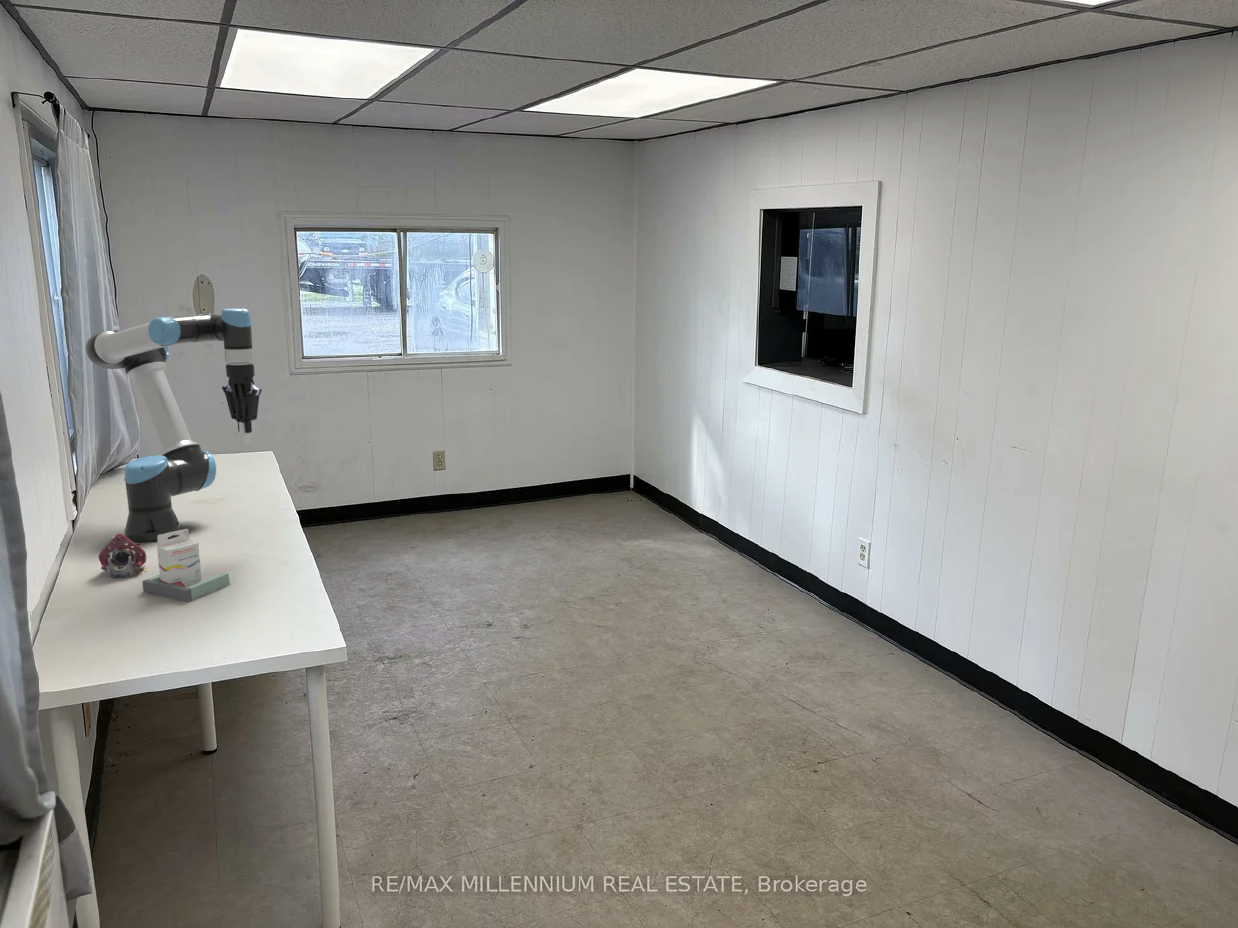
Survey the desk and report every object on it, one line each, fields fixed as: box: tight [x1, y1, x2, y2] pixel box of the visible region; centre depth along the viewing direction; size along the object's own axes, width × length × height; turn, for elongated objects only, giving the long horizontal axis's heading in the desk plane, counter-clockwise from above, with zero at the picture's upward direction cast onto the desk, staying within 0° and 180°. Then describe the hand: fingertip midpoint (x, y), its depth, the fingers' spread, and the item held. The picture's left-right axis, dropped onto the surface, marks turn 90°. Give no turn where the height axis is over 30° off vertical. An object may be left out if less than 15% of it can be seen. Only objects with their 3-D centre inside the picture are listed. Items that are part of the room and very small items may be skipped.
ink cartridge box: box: [156, 528, 203, 588], centre depth 231 cm, size 9×5×15 cm, turn 143°
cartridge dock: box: [142, 572, 230, 603], centre depth 232 cm, size 15×14×3 cm
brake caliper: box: [97, 533, 149, 579], centre depth 243 cm, size 11×11×12 cm
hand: (246, 443), depth 265 cm, fingers closed
